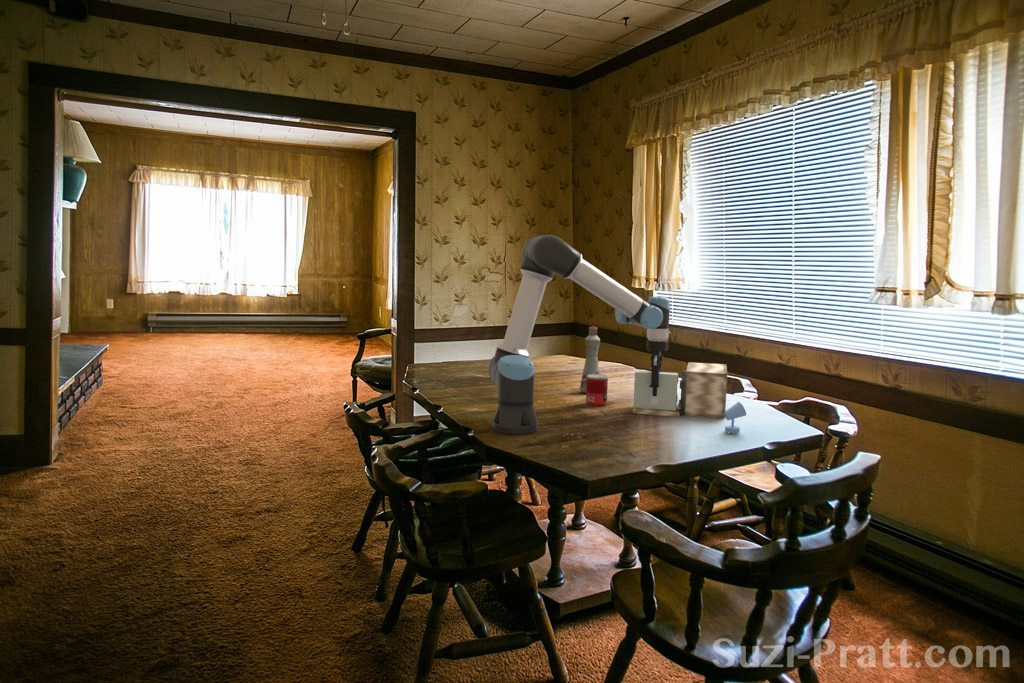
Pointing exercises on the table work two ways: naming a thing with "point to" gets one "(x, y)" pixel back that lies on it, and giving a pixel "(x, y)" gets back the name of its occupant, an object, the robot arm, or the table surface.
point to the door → (665, 390)
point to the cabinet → (698, 392)
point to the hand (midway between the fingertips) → (654, 403)
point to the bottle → (590, 357)
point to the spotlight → (734, 413)
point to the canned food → (596, 389)
